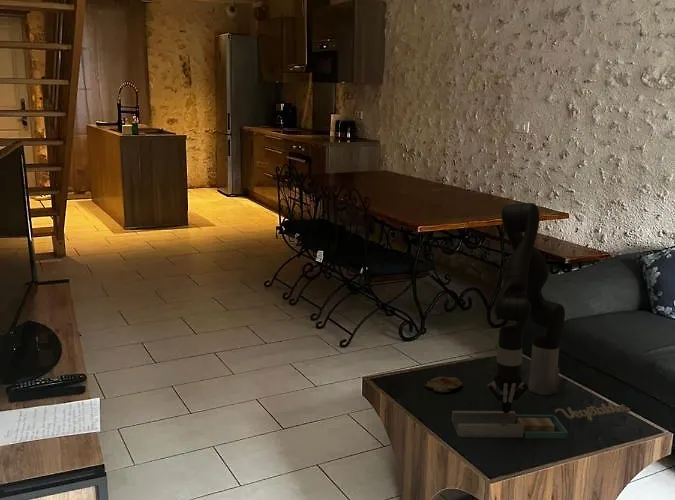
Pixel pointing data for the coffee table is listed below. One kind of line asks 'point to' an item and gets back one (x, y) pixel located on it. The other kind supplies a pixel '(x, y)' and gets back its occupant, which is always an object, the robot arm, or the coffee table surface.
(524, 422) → the beige square block
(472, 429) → the slot rail
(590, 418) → the decorative sign
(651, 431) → the coffee table surface
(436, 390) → the stone
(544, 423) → the chip
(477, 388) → the coffee table surface
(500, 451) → the coffee table surface
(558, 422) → the tray
